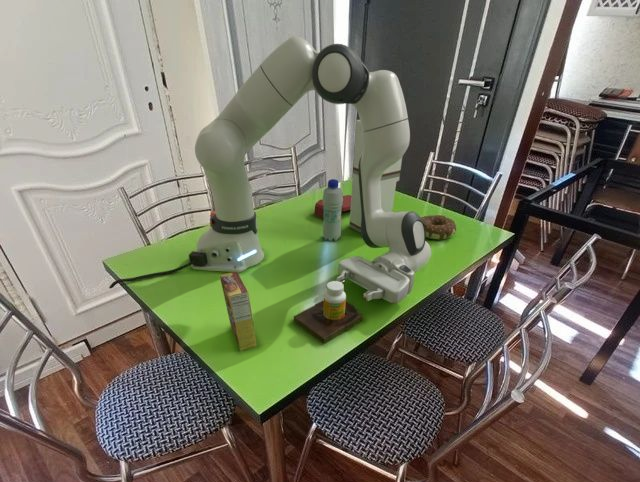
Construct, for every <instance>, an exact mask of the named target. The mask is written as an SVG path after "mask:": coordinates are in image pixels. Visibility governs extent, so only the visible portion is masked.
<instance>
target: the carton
mask: <svg viewBox="0 0 640 482" xmlns="http://www.w3.org/2000/svg"><path fill="white" fill-rule="evenodd" d="M351 195H352V194H346V195H343V205H342V208H341V213H342V212H347V211H351ZM314 204H315V205H314V209H313V210H314V211H313V216H315V217H318V218H319V219H320V218H321V219H322V220H324V206H323V200H322V199H319V200H318V201H316V202H315V203H314Z"/></svg>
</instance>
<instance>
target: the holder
mask: <svg viewBox="0 0 640 482" xmlns="http://www.w3.org/2000/svg"><path fill="white" fill-rule="evenodd" d="M323 302H324V300H321V301H319V302H317V303H315V304H314V305H312V306H310V307H308V308H307V309H304V310H303V311H301V312H299V313H297V314H295V315H293V323H295V324H296V325H297V326H298V327H300V328H302V329H303V330H304V331H305V332H307V333H308V334H309V335H311V336H312V337H313V338H315V339H316V340H317V341H319V342H320V343H321V344H323V345H325V344H327V343H328V342H330V341H332V340H333V339H335V338H336V337H338V336H340V335H341V334H343V333H344V332H347V331H349V330H351V329H352V328H354V327H355V326H356V325H358V324H359V323H361V322H362V321H363V316H364V315H363V314H362V313H361V312H359V311H358V310H357V308H356V307H355V306H354V305H353V304H351V303H350V302H349V301H346V304H345V317H344V318H342V319H339V320H330V319H327V318H325V317H324V316H323Z"/></svg>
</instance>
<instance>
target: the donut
mask: <svg viewBox="0 0 640 482" xmlns="http://www.w3.org/2000/svg"><path fill="white" fill-rule="evenodd" d="M420 217H421V219H422V221H423V223H424V226H425V231H426V238H427V239H431V240H436V241H438V240H447V239H449V238H451V237H452V236H454V235H455V234H456V231H457V224H456V222H455V221H454V219H452V218H449V217H447V216H445V215H443V214H428V215H424V216H420Z"/></svg>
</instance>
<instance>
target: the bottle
mask: <svg viewBox="0 0 640 482" xmlns="http://www.w3.org/2000/svg"><path fill="white" fill-rule="evenodd" d="M339 184H340V183H339V181H338V180H337V179H335V178H331V179H328V181H327V187H326V188H324V189H323V194H322V199H321V200H323V206H324V219H323V223H322V236H323V238H324V240H325V241H329V242H333V241H334V242H336V241H337V240H339V239H340V238H341V237H342V236H341V235H342V212H341V208H342V205H343V196H344V195H343V189H342V188H341V187H339Z"/></svg>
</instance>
